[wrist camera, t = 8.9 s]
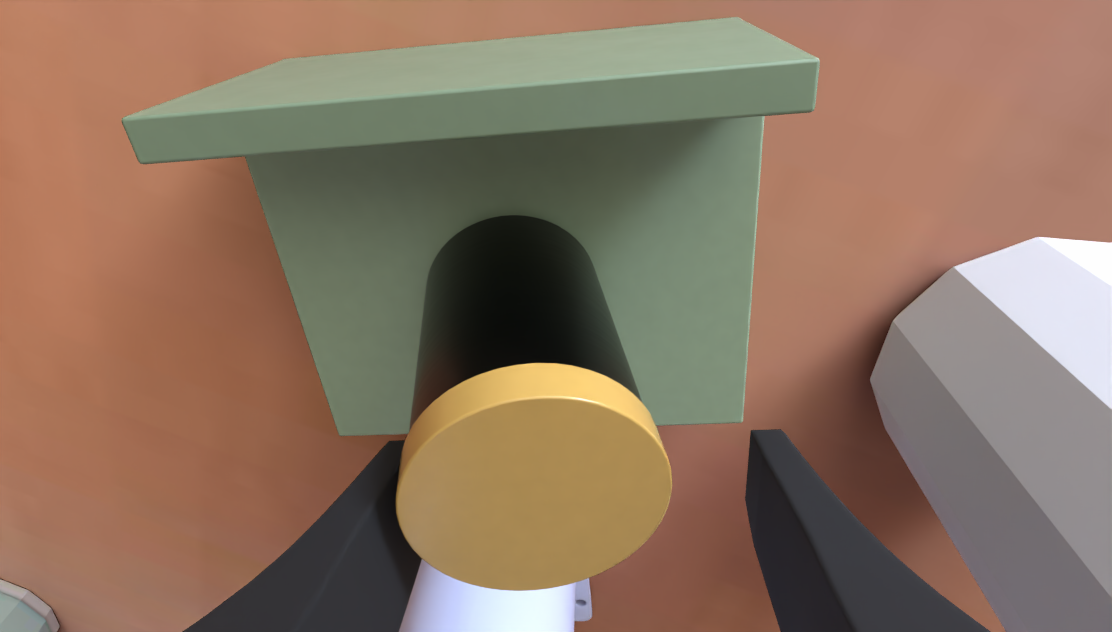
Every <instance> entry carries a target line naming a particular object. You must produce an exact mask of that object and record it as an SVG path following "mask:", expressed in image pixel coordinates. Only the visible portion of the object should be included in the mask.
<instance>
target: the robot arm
mask: <svg viewBox="0 0 1112 632" xmlns="http://www.w3.org/2000/svg"><path fill="white" fill-rule="evenodd" d="M404 443H405V441H389V442H388V443H387V444H386V445H385V446H384V447H383V448H382V449H381V450H380V451H379V453H378V454H377V455H376V456H375V457H374V458H373V459H372V461H371V462H370V463H369V464H368V465H367V466H366V467H365V469H364V470H363V471H362V472H361V473H360V474H359V475H358V476H357V478H356V479H355V480H354V481H353V482H352V483H351V484H350V486H349V487H348V488H347V489H346V490H345V491H344V492H343V493H342V494H341V495H340V496H339V498H338V499H337V500H336V501H335V502H334V503H333V504H332V505H331V506H330V507H329V508H328V510H327V511H326V512H325V513H324V514H323V515H322V516H321V517H320V518H319V519H318V520H317V521H316V522H315V523H314V524H313V525H312V526H311V527H310V528H309V529H308V530H307V531H306V532H305V533H304V534H303V535H302V536H301V537H300V538H299V539H298V540H297V541H296V542H295V543H294V544H293V545H292V546H291V547H290V548H289V549H287V550H286V551H285V552H284V553H283V554H282V555H281V556H280V557H279V558H278V559H276V560H275V561H274V562H273V563H272V564H271V565H269V566H268V567H267V568H266V569H265V570H264V571H262V572H261V573H260V574H259V575H258V576H257V577H255V578H254V579H253V580H252V581H251V582H249V583H248V584H247V585H246V586H244V587H243V588H242V589H240V590H239V591H238V592H236V593H235V594H234V595H232V596H231V597H230V598H228V599H227V600H226V601H224V602H223V603H222V604H221V605H219V606H218V607H217V608H215V609H214V610H213V611H211V612H210V613H209V614H207V615H206V616H205V617H203V618H202V619H200V620H199V621H197V622H196V623H194V624H193V625H192V626H190V627H189V628H187V629H186V630H184V631H183V632H574V621H587V620H589V619H590V618H591V617H592V603H591V592H590V582H589V578H587V579H585V580H582V581H579V582H575V583H572V584H568V585H564V586H559V587H554V588H549V589H541V590H528V591H510V590H497V589H490V588H484V587H480V586H475V585H471V584H468V583H465V582H462V581H459V580H456V579H454V578H452V577H450V576H447V575H445V574H443V573H442V572H440V571H438V570H437V569H435V568H433V567H432V566H430V565H429V564H428V563H427V562H425V561H424V560H423V559H422V558H420V556H419V555H418V554H417V553H416V552H415V551H414V550H413V549H412V548H411V546H410V545H409V543H408V542H407V540H406V539H405V537H404V535H403V533H402V531H401V528H400V526H399V523H398V519H397V515H396V502H395V498H396V490H397V482H398V475H399V467H400V460H401V453H402V449H403V446H404ZM745 501H746V506H747V512H748V517H749V523H750V528H751V533H752V538H753V543H754V547H755V551H756V554H757V557H758V560H759V564H760V567H761V570H762V573H763V577H764V580H765V583H766V586H767V589H768V593H769V596H770V599H771V602H772V605H773V608H774V612H775V615H776V618H777V621H778V624H779V628H780V631H781V632H990V631H989V630H988V629H986V628H985V627H983V626H982V625H981V624H979V623H978V622H977V621H975V620H974V619H973V618H971V617H970V616H969V615H967V614H966V613H965V612H963V611H962V610H961V609H959V608H958V607H957V606H955V605H954V604H953V603H951V602H950V601H948V600H947V599H946V598H944V597H943V596H942V595H940V594H939V593H938V592H937V591H936V590H934V589H933V588H932V587H931V586H930V585H928V584H927V583H926V582H925V581H923V580H922V579H921V578H920V577H919V576H917V575H916V574H915V573H914V572H913V571H912V570H911V569H909V568H908V567H907V566H906V565H905V564H904V563H903V562H901V561H900V560H899V559H898V558H897V557H896V556H895V555H894V554H893V553H892V552H891V551H889V550H888V549H887V548H886V547H885V546H884V545H883V544H882V543H881V542H880V541H879V540H878V539H877V538H876V537H875V536H874V535H873V534H872V533H871V532H870V531H869V530H868V529H867V528H866V527H865V526H864V525H863V524H862V523H861V522H860V521H859V520H858V519H857V518H856V517H855V516H854V515H853V514H852V513H851V512H850V510H849V509H848V508H847V507H846V506H845V505H844V504H843V503H842V502H841V501H840V499H839V498H838V497H837V496H836V495H835V494H834V493H833V492H832V491H831V489H830V488H829V487H828V486H827V485H826V484H825V483H824V481H823V480H822V479H821V478H820V477H819V476H818V474H817V473H816V472H815V471H814V469H813V468H812V467H811V466H810V465H809V463H808V462H807V461H806V460H805V458H804V457H803V456H802V455H801V453H800V452H799V451H798V450H797V448H796V447H795V446H794V444H793V443H792V442H791V440H790V439H789V438H788V436H787V435H786V434H785V433H784V432H783V431H782V430H781V429H778V430H751V436H750V448H749V460H748V472H747V484H746V496H745Z"/></svg>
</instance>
